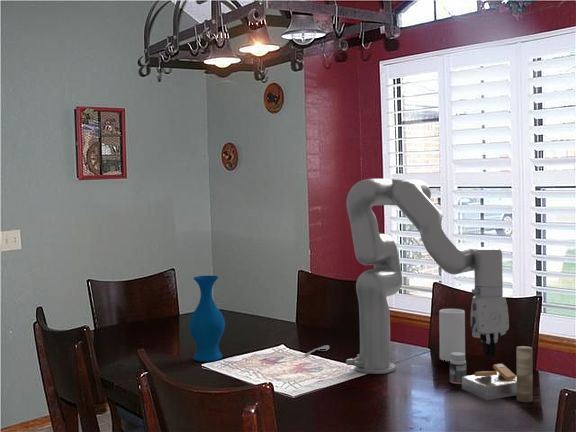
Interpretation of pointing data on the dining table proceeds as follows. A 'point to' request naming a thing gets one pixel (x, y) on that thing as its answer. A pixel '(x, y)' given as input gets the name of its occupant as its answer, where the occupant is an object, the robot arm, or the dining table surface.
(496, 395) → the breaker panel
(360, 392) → the dining table surface
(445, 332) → the white tall cylinder
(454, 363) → the pill bottle
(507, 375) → the paddle
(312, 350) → the spoon
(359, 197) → the robot arm
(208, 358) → the vase
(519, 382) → the dowel post
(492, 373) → the paddle
